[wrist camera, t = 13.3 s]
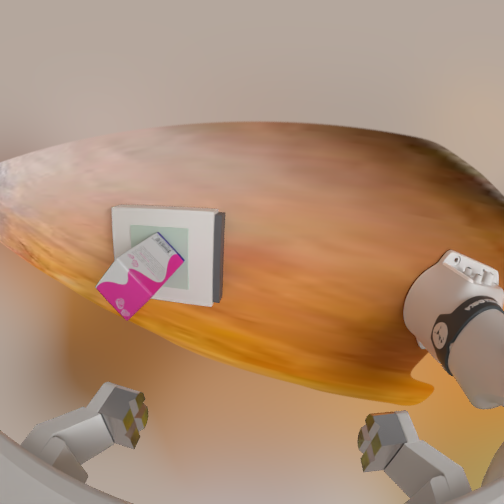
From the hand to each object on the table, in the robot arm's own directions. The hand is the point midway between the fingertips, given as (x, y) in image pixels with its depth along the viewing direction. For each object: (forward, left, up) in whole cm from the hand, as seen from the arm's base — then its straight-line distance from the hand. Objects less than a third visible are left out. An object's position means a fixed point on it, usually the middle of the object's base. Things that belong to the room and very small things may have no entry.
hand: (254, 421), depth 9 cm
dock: (+16, +5, -33) cm, 37 cm away
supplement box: (+16, +5, -30) cm, 34 cm away
